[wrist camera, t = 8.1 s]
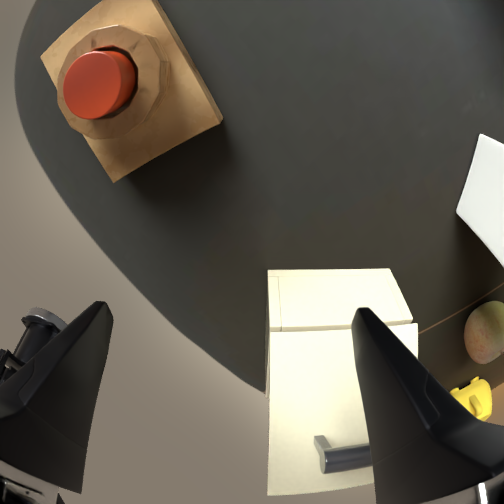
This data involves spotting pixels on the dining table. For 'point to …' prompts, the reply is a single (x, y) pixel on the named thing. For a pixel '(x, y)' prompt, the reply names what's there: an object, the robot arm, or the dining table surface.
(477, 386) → the teapot
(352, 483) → the lid
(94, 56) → the switch button
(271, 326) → the box
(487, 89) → the dining table surface
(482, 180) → the milk carton
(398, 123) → the dining table surface
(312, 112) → the dining table surface
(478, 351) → the fruit
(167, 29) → the switch base
